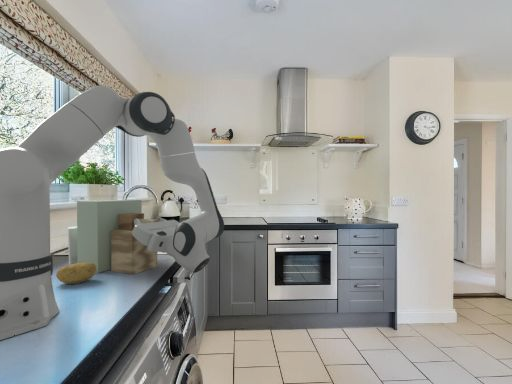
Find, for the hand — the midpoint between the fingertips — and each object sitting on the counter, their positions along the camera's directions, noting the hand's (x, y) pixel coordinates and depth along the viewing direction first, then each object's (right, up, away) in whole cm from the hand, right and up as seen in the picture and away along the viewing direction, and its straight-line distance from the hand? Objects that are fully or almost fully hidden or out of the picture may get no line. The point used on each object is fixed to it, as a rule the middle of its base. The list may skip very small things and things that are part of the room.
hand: (146, 218), depth 106 cm
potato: (-17, -20, -14) cm, 30 cm away
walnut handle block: (-3, -4, +2) cm, 6 cm away
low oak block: (-5, -19, +3) cm, 20 cm away
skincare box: (-31, -20, +9) cm, 38 cm away
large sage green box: (-18, -19, +9) cm, 28 cm away
